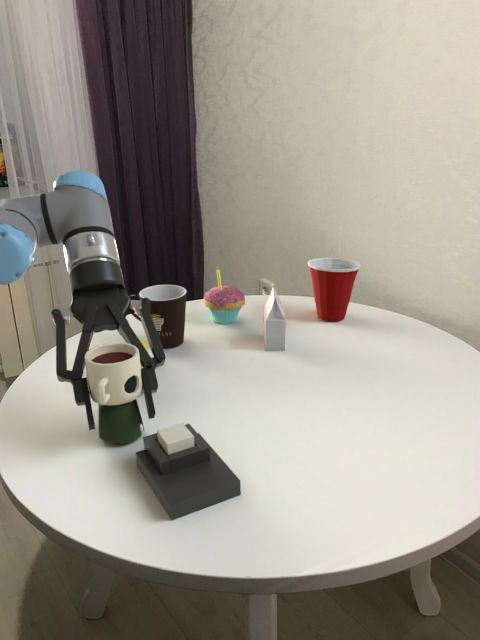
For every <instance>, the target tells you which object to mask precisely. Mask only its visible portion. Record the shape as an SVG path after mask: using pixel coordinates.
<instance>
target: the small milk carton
mask: <svg viewBox="0 0 480 640" xmlns="http://www.w3.org/2000/svg"><path fill="white" fill-rule="evenodd" d="M263 311H264V312H263V330H264V331H263V339H264V350H265V351H286V329H287V328H286V327H287V326H286V325H287V323H286V321H287V319H286V314H285V307H284V305H283V303H282V301H281V300H280V297H279V295H278V293H277V290H276V288H275V287H272V288H271V292H270V294H269V297H268V299H267V300H266V302H265V305H264V306H263Z"/></svg>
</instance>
